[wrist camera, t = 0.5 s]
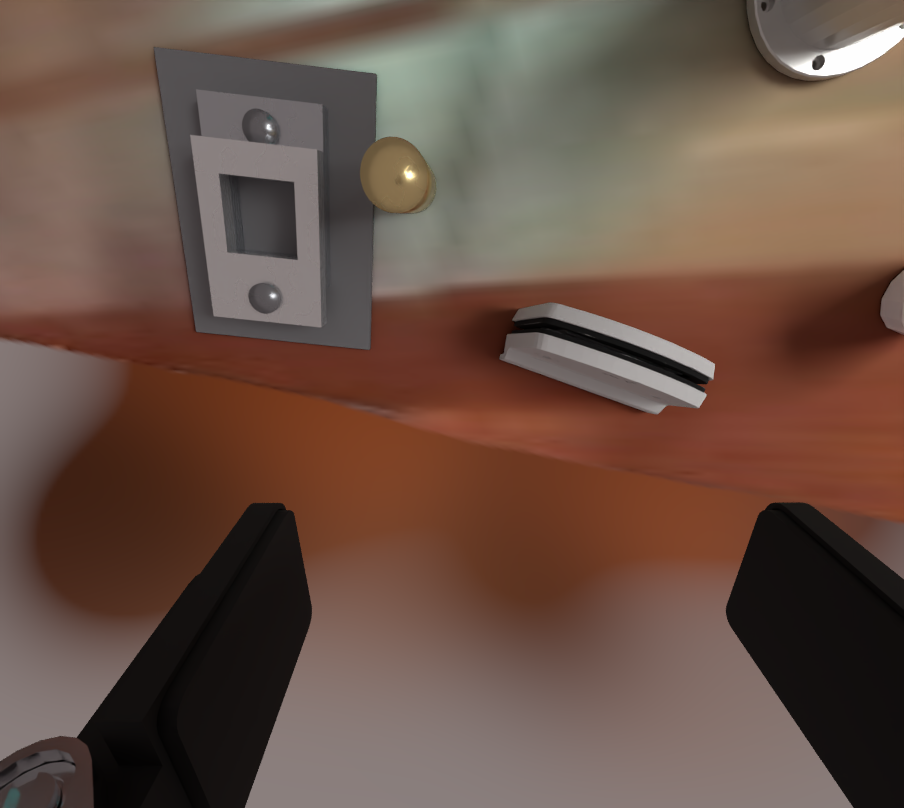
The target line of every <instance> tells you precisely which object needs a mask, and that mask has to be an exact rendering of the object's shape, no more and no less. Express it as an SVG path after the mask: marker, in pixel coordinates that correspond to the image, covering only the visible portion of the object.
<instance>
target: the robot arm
mask: <svg viewBox="0 0 904 808" xmlns="http://www.w3.org/2000/svg"><path fill="white" fill-rule="evenodd" d="M761 6H762V8H763V9H762V8H761ZM747 15H748V20H749V26H750V31H751V33H752V36H753V39H754V41H755V44H756V46H757V48H758V50H759V51H760V53H761V54H762V55H763V57H764V58H765V60H766V61H767V62H768V63H769V64H770V65H772V66H773V67H774V68H775V69H776V70H777V71H779V72H781V73H783V74H785V75H787V76H789V77H791V78H795V79H800V80H806V81H816V80H827V79H831V78H834V77H838V76H842V75H845V74H847V73H850V72H852V71H855V70H857V69H860V68H862V67H864V66H866V65H867V64H869V63H871V62H873V61H874V60H876V59H878V58H880V57H881V56H882V55H884V54H885V53H886V52H887V51H889V50H890V49H891V48H892V47H894V46H895V45H896V44H898V43H899V42H900V41H901V40H902V39H903V38H904V0H747ZM726 615H727V619H728V622H729V624H730V626H731V628H732V629H733V631H734V632H735V634H736V635H737V637H738V638H739V640H740V641H741V643H742V644H743V645H744V647H745V648H746V650H747V651H748V653H749V654H750V656H751V657H752V659H753V660H754V662H755V663H756V665H757V666H758V668H759V669H760V670H761V672H762V674H763V675H764V676H765V678H766V679H767V681H768V682H769V684H770V685H771V687H772V688H773V690H774V691H775V693H776V694H777V695H778V697H779V699H780V700H781V702H782V703H783V704H784V706H785V707H786V709H787V710H788V712H789V713H790V715H791V716H792V718H793V719H794V721H795V722H796V724H797V725H798V726H799V727H800V730H801V731H802V732H803V734H804V735H805V737H806V738H807V740H808V741H809V743H810V744H811V746H812V747H813V749H814V750H815V752H816V753H817V755H818V756H819V758H820V759H821V760H822V762H823V763H824V765H825V766H826V768H827V769H828V771H829V772H830V774H831V775H832V777H833V778H834V780H835V781H836V782H837V784H838V786H839V787H840V788H841V790H842V791H843V793H844V794H845V796H846V797H847V799H848V800H849V802H850V803H851V805H852V806H853V807H854V808H904V579H902V578H901V577H900V576H899V575H898V574H896V573H895V572H894V571H893V570H891V569H890V568H889V567H888V566H886V565H885V564H884V563H883V562H881V561H880V560H879V559H878V558H876V557H875V556H874V555H873V554H871V553H870V552H869V551H868V550H866V549H865V548H864V547H863V546H861V545H860V544H859V543H858V542H856V541H855V540H854V539H853V538H851V537H850V536H849V535H848V534H846V533H845V532H844V531H843V530H841V529H840V528H839V527H838V526H836V525H835V524H834V523H833V522H831V521H830V520H829V519H828V518H826V517H825V516H824V515H823V514H821V513H820V512H819V511H818V510H816V509H815V508H814V507H812V506H811V505H809V504H806V503H771V504H770V505H768V506H767V508H766V509H765V510H764V511H762V512H760V513H759V515H758V518H757V521H756V523H755V526H754V529H753V532H752V535H751V538H750V540H749V544H748V546H747V549H746V552H745V555H744V558H743V561H742V563H741V566H740V569H739V572H738V575H737V578H736V581H735V583H734V586H733V589H732V592H731V595H730V597H729V600H728V603H727V606H726ZM311 616H312V606H311V601H310V595H309V590H308V584H307V579H306V574H305V569H304V564H303V558H302V553H301V547H300V542H299V537H298V532H297V526H296V522H295V516H294V513H293V512H292V511H290V510H286V508H285V506H284V505H283V504H282V503H253V504H251V505H250V506H249V507H248V508H247V509H246V511H245V512H244V513H243V515H242V516H241V518H240V519H239V521H238V522H237V523H236V525H235V526H234V527H233V529H232V530H231V531H230V533H229V534H228V536H227V537H226V539H225V540H224V541H223V543H222V544H221V545H220V547H219V548H218V550H217V551H216V552H215V554H214V555H213V557H212V558H211V559H210V561H209V562H208V564H207V565H206V566H205V568H204V569H203V570H202V572H201V573H200V574H199V575H197V576H195V578H194V579H193V580H192V581H191V582H190V583H189V584H188V586H187V587H186V588H185V590H184V591H183V593H182V594H181V595H180V597H179V598H178V600H177V601H176V602H175V604H174V605H173V607H172V608H171V609H170V610H169V612H168V613H167V614H166V616H165V618H164V619H163V620H162V621H161V623H160V624H159V625H158V627H157V628H156V630H155V631H154V633H153V634H152V635H151V637H150V638H149V639H148V641H147V642H146V643H145V645H144V646H143V647H142V649H141V650H140V652H139V653H138V654H137V656H136V657H135V658H134V660H133V661H132V662H131V664H130V665H129V667H128V668H127V669H126V671H125V672H124V673H123V675H122V676H121V678H120V679H119V680H118V682H117V683H116V685H115V686H114V687H113V689H112V690H111V691H110V693H109V694H108V696H107V697H106V698H105V700H104V701H103V702H102V704H101V705H100V707H99V708H98V709H97V710H96V712H95V713H94V715H93V716H92V717H91V719H90V720H89V721H88V723H87V724H86V726H85V727H84V728H83V730H82V731H81V732H80V734H79V735H78V737H77V738H75V737H65V736H59V737H54V738H49V739H45V740H40V741H38V742H36V743H34V744H31V745H29V746H27V747H25V748H22V749H20V750H18V751H16V752H14V753H13V754H11V755H9V756H8V757H6V758H5V759H3V760H2V761H0V808H245V805H246V802H247V800H248V797H249V794H250V791H251V788H252V785H253V783H254V780H255V777H256V774H257V772H258V769H259V766H260V763H261V760H262V758H263V755H264V752H265V749H266V746H267V744H268V740H269V738H270V735H271V732H272V729H273V727H274V724H275V721H276V718H277V715H278V712H279V710H280V707H281V704H282V702H283V698H284V696H285V693H286V690H287V688H288V685H289V682H290V679H291V676H292V674H293V671H294V668H295V665H296V662H297V660H298V657H299V654H300V651H301V648H302V645H303V643H304V640H305V637H306V634H307V632H308V629H309V625H310V621H311Z"/></svg>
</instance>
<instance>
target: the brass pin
mask: <svg viewBox="0 0 904 808" xmlns="http://www.w3.org/2000/svg"><path fill="white" fill-rule="evenodd" d="M360 179H361V184H362V187H363V190H364V192H365V194H366V196H367V197H368V199H369V200H370V201H371V202H372V203H373V204H374V205H375V206H376V207H378V208H379V209H381V210H383V211H386V212H390V213H418V212H421V211H423V210H425V209H426V208H427V207H428V206H429V205H430V204H431V203H432V201H433V199H434V196H435V193H436V181H435V177H434V174H433V172H432V170H431V169H430V167H429V166H428V164H427V163H426V161H425V160H424V158H423V157H422V155H421V154H420V152H419V151H418V150H417V148H416V147H415V146H413V145H412V144H411V143H410V142H408V141H406V140H404V139H402V138H398V137H385V138H382V139H380V140H377V141H376V142H374V143H373V144H372V145H371V146H370V147H369V148H368V149H367V151H366V152H365V154H364V156H363V159H362V162H361V167H360Z"/></svg>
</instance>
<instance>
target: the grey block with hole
mask: <svg viewBox="0 0 904 808" xmlns="http://www.w3.org/2000/svg"><path fill="white" fill-rule="evenodd" d="M196 94H197V102H198V110H199V119H200V127H201V135H202V136H196V135H190V138H191V146H192V153H193V161H194V169H195V176H196V184H197V192H198V200H199V207H200V215H201V223H202V230H203V238H204V246H205V253H206V261H207V269H208V277H209V284H210V292H211V300H212V307H213V315H214V316H217V317H226V318H236V319H245V320H255V321H264V322H274V323H283V324H293V325H302V326H312V327H323V326H324V325H325V324H326V323H327V317H326V288H328V287H329V286H331V259H330V191H329V123H328V108H326V107H325V106H324V105H323V104H316V103H307V102H299V101H290V100H282V99H273V98H265V97H257V96H248V95H240V94H231V93H223V92H214V91H206V90H198V89H196ZM239 177H246V178H255V179H263V180H272V181H281V182H290V183H294V190H295V212H296V234H297V255H291V254H282V253H273V252H264V251H255V250H246V249H245V242H244V231H243V220H242V210H241V199H240V188H239Z"/></svg>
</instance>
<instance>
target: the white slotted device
mask: <svg viewBox="0 0 904 808" xmlns="http://www.w3.org/2000/svg"><path fill="white" fill-rule="evenodd" d="M512 321H514V322H515V325H514V326H516V327H519V328H522V329H524V330H513V331H512V333H511V334H507V337H506V343H505V349H504V354H500V358H499V359H500V360H503V361H505V362H508V363H511V364H514V365H517V366H519V367H522V368H525V369H528V370H531V371H533V372H536V373H539V374H542V375H544V376H547V377H550V378H553V379H556V380H558V381H561V382H564V383H567V384H569V385H572V386H575V387H578V388H581V389H583V390H586V391H589V392H592V393H595V394H597V395H600V396H603V397H606V398H608V399H611V400H614V401H617V402H620V403H622V404H625V405H628V406H631V407H634V408H636V409H639V410H642V411H645V412H648V413H652V414H658V413H659V412H660V411H661V410H663V409H664V408H665V407H666V406H667V405H673V406H682V407H691V408H699V407H700V405H701V404H702V402H703V401H704V399H705V397H706V396H707V395H706V394H705V393H704V391H705V388H703V387H701V386H699V385H697V384H707V383H708V381H709V380H713V376H714V368H715V364H714V363H712V362H710V361H708V360H707V359H705V358H703V357H701V356H699V355H697V354H695V353H693V352H691V351H689V350H687V349H684V348H682V347H680V346H678V345H676V344H673V343H671V342H669V341H666V340H664V339H661V338H659V337H656V336H654V335H651V334H649V333H646V332H644V331H641V330H638V329H636V328H633V327H630V326H627V325H624V324H621V323H619V322H616V321H613V320H610V319H607V318H604V317H601V316H598V315H595V314H591V313H588V312H585V311H581V310H578V309H575V308H571V307H568V306H564V305H561V304H557V303H545V304H541V305H536V306H531V307H526V308H521V309H519V310H518V311H517V313H516V314H515V316H514V318H513V319H512Z"/></svg>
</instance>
